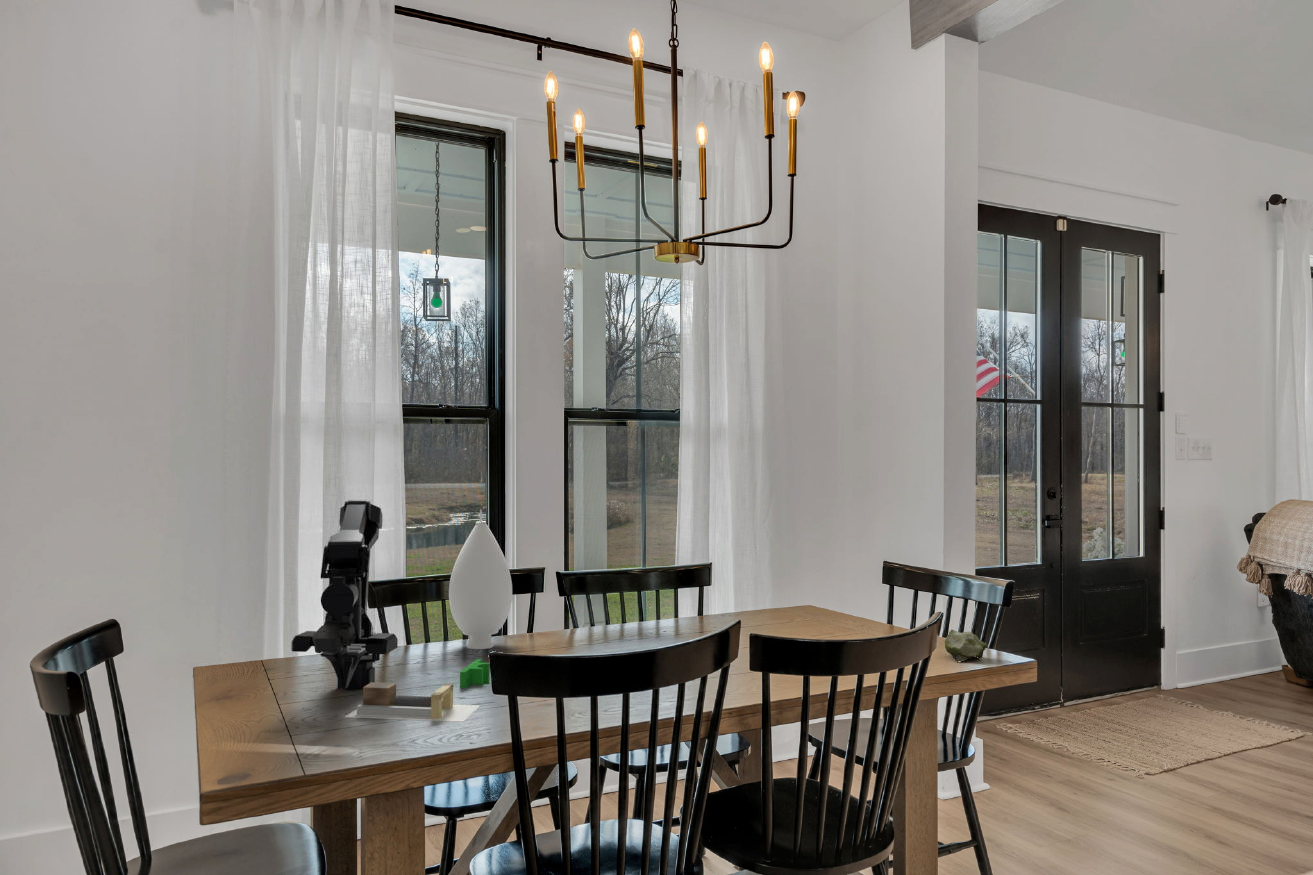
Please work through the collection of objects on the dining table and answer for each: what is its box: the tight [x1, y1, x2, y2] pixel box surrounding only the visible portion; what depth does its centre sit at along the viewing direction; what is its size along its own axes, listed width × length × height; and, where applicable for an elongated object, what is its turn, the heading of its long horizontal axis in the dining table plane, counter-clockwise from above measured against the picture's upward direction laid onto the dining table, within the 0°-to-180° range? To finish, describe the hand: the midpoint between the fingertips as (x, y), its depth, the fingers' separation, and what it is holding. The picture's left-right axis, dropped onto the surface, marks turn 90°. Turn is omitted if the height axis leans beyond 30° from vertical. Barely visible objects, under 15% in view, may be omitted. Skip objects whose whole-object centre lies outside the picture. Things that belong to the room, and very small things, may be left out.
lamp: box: [448, 509, 513, 650], centre depth 221 cm, size 16×16×35 cm
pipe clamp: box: [459, 658, 491, 689], centre depth 184 cm, size 11×4×5 cm, turn 173°
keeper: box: [362, 682, 397, 706], centre depth 163 cm, size 5×3×4 cm
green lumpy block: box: [943, 629, 988, 662], centre depth 210 cm, size 9×9×8 cm
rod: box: [394, 695, 431, 707], centre depth 163 cm, size 7×3×3 cm, turn 84°
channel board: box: [344, 683, 481, 723], centre depth 163 cm, size 22×10×5 cm, turn 84°
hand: (344, 687), depth 164 cm, fingers closed
